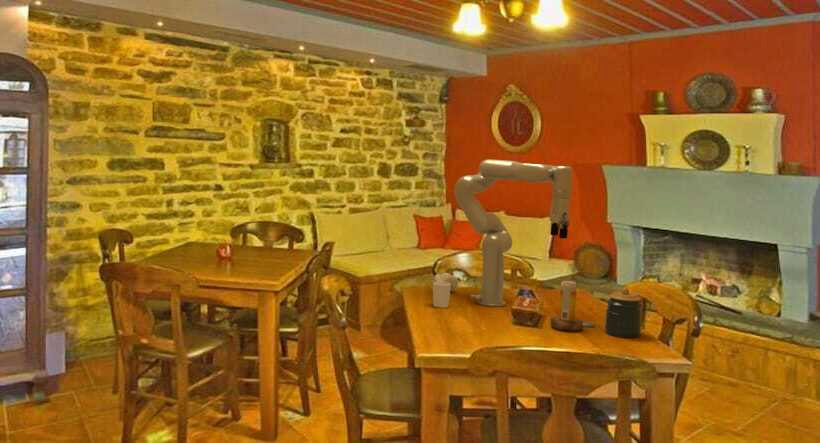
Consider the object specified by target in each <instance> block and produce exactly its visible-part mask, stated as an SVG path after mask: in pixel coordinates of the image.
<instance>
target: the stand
mask: <svg viewBox="0 0 820 443" xmlns="http://www.w3.org/2000/svg"><path fill="white" fill-rule="evenodd" d="M583 321H584V320H582V319H579V318H577V317H575V319H574V320H573V321H572V322H565V321H561V320H560V319H559V318H558V316H553V317H552V316H551V318H550V325H551V326H552V327H553V329H554V330H558V331H562V332H568V333H570V332H571V333H573V332H574V333H575V332H578V331H580V330H581V329H583V328H584V327H583Z"/></svg>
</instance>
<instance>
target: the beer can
mask: <svg viewBox="0 0 820 443" xmlns="http://www.w3.org/2000/svg"><path fill="white" fill-rule="evenodd" d="M559 286H560V288H559V300H558V301H559V303H558V316H557V317H558V318H559V319H560V320H561V321H565V322H572V321H573V320H574V319H575V318H576V304H577V303H576V302H577V287H578V286H577V283H576V282H575V281H573V280H572V281H571V280H562V281H561V283H560V285H559Z"/></svg>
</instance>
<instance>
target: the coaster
mask: <svg viewBox="0 0 820 443" xmlns="http://www.w3.org/2000/svg"><path fill="white" fill-rule="evenodd" d="M582 321H583V327H582V328H594V327H596V323H595V322H591V321H586V320H585V321H584V320H582Z"/></svg>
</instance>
